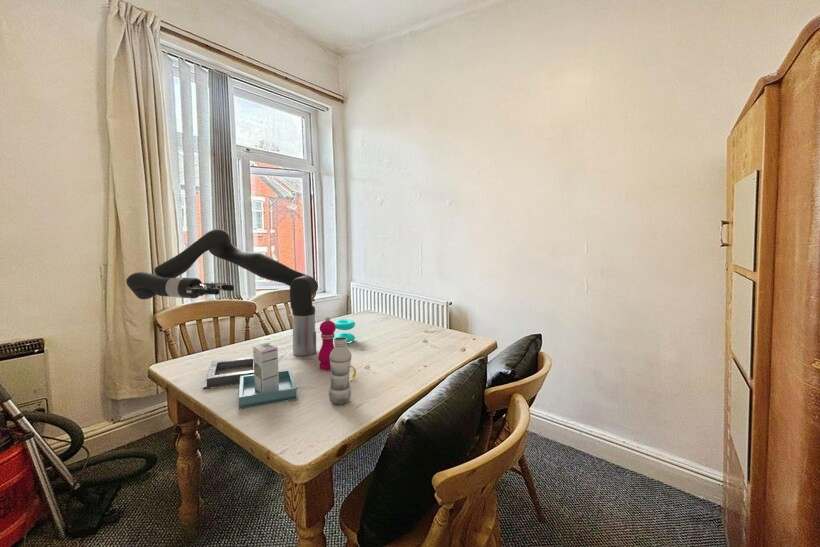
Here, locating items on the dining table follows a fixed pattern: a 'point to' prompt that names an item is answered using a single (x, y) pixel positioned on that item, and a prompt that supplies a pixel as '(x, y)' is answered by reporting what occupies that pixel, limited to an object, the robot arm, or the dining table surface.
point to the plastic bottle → (340, 372)
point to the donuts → (345, 325)
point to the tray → (254, 398)
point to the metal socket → (229, 378)
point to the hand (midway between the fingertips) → (226, 289)
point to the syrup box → (266, 367)
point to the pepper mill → (326, 343)
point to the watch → (354, 371)
